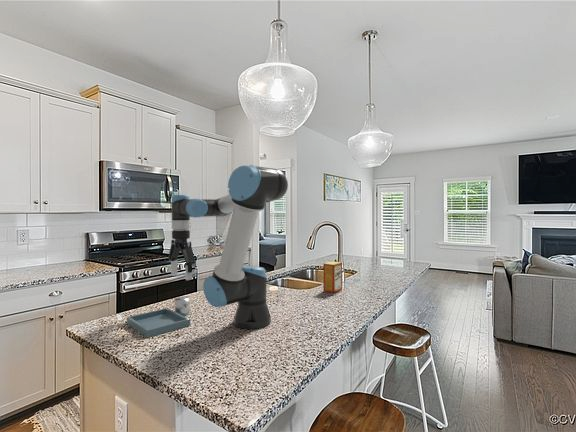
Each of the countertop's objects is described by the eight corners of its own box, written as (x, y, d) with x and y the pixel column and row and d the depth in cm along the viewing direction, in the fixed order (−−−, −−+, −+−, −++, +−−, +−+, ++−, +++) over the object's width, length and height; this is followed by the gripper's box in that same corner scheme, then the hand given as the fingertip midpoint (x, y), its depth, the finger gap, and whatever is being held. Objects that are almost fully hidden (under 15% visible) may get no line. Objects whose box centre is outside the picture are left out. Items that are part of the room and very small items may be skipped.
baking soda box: (332, 287, 189) (332, 260, 189) (342, 289, 185) (341, 261, 185) (323, 291, 182) (323, 263, 181) (333, 293, 178) (333, 264, 177)
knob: (192, 314, 144) (192, 297, 144) (178, 317, 140) (178, 301, 140) (185, 310, 149) (185, 295, 149) (172, 314, 144) (171, 298, 144)
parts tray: (190, 325, 130) (190, 319, 130) (147, 337, 118) (147, 330, 118) (166, 313, 145) (166, 307, 145) (126, 323, 133) (126, 317, 133)
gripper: (203, 230, 137) (203, 280, 138) (175, 227, 155) (176, 272, 155) (186, 231, 132) (187, 283, 133) (160, 228, 149) (161, 274, 150)
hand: (181, 277), depth 144 cm, fingers open, 13 cm apart
